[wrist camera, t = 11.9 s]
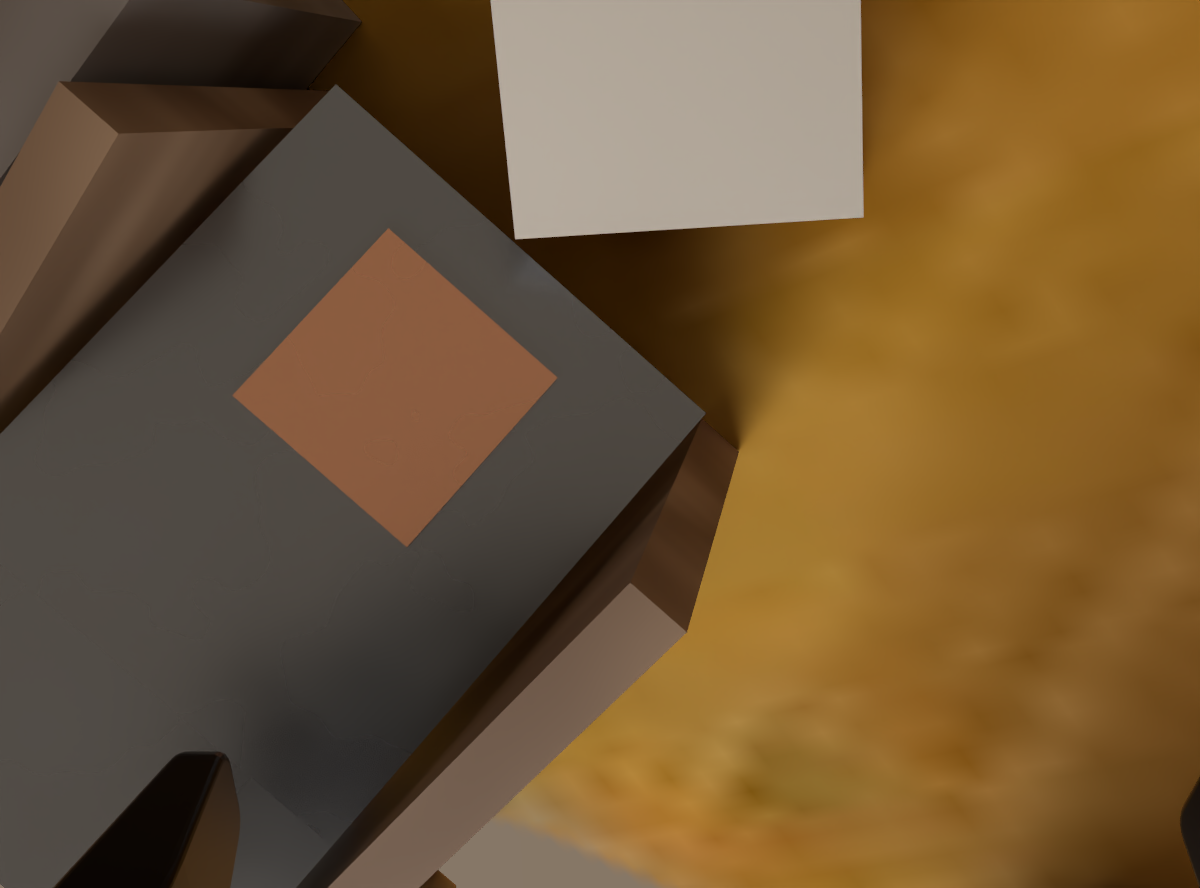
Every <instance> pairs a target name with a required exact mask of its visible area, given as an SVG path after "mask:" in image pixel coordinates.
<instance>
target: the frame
mask: <svg viewBox="0 0 1200 888" xmlns="http://www.w3.org/2000/svg"><path fill="white" fill-rule="evenodd" d="M328 92H329V91H321V90H293V89H265V88H236V87H208V86H180V85H152V84H123V83H95V82H67V81H59V82H58V83H57V85H56V87H55V89H54V91H53V93H52V94H51V96H50V98H49V100H48V102H47V103H46V105H45V107H44V109H43V111H42V112H41V114H40V116H39V118H38V120H37V121H36V123H35V125H34V127H33V129H32V130H31V132H30V134H29V136H28V138H27V139H26V141H25V143H24V145H23V147H22V148H21V150H20V152H19V154H18V156H17V157H16V159H15V161H14V163H13V165H12V166H11V168H10V170H9V172H8V174H7V175H6V177H5V179H4V181H3V183H2V185H1V186H0V434H1V433H2V432H3V431H4V430H5V429H6V428H7V426H8V425H9V424H10V423H11V422H12V421H13V420H14V419H15V418H16V417H17V416H18V415H19V414H20V413H21V412H22V411H23V410H24V409H25V408H26V407H27V406H28V405H29V404H30V403H31V401H32V400H33V399H34V398H35V397H36V396H37V395H38V394H39V393H40V392H41V391H42V390H43V389H44V388H45V387H46V386H47V385H48V384H49V383H50V382H51V381H52V380H53V379H54V377H55V376H56V375H57V374H58V373H59V372H60V371H61V370H62V369H63V368H64V367H65V366H66V365H67V364H68V363H69V362H70V361H71V360H72V359H73V358H74V357H75V356H76V355H77V354H78V352H79V351H80V350H81V349H82V348H83V347H84V346H85V345H86V344H87V343H88V342H89V341H90V340H91V339H92V338H93V337H94V336H95V335H96V334H97V333H98V332H99V331H100V330H101V328H102V327H103V326H104V325H105V324H106V323H107V322H108V321H109V320H110V319H111V318H112V317H113V316H114V315H115V314H116V313H117V312H118V311H119V310H120V309H121V308H122V307H123V306H124V305H125V303H126V302H127V301H128V300H129V299H130V298H131V297H132V296H133V295H134V294H135V293H136V292H137V291H138V290H139V289H140V288H141V287H142V286H143V285H144V284H145V283H146V282H147V281H148V279H149V278H150V277H151V276H152V275H153V274H154V273H155V272H156V271H157V270H158V269H159V268H160V267H161V266H162V265H163V264H164V263H165V262H166V261H167V260H168V259H169V258H170V257H171V256H172V254H173V253H174V252H175V251H176V250H177V249H178V248H179V247H180V246H181V245H182V244H183V243H184V242H185V241H186V240H187V239H188V238H189V237H190V236H191V235H192V234H193V233H194V232H195V231H196V229H197V228H198V227H199V226H200V225H201V224H202V223H203V222H204V221H205V220H206V219H207V218H208V217H209V216H210V215H211V214H212V213H213V212H214V211H215V210H216V209H217V208H218V207H219V205H220V204H221V203H222V202H223V201H224V200H225V199H226V198H227V197H228V196H229V195H230V194H231V193H232V192H233V191H234V190H235V189H236V188H237V187H238V186H239V185H240V184H241V183H242V182H243V180H244V179H245V178H246V177H247V176H248V175H249V174H250V173H251V172H252V171H253V170H254V169H255V168H256V167H257V166H258V165H259V164H260V163H261V162H262V161H263V160H264V159H265V158H266V156H267V155H268V154H269V153H270V152H271V151H272V150H273V149H274V148H275V147H276V146H277V145H278V144H279V143H280V142H281V141H282V140H283V139H284V138H285V137H286V136H287V135H288V134H289V133H290V131H291V130H292V129H293V128H294V127H295V126H296V125H297V124H298V123H299V122H300V121H301V120H302V119H303V118H304V117H305V116H306V115H307V114H308V113H309V112H310V111H311V110H312V109H313V107H314V106H315V105H316V104H317V103H318V102H319V101H320V100H321V99H322V98H323V97H324V96H325V95H326V94H327V93H328ZM738 453H739V451H738V450H736V449H735V448H734V447H733V446H732V445H731V444H730V443H729V442H727V441H726V440H725V439H724V438H723V437H722V436H721V435H720V434H718V433H717V432H716V431H715V430H714V429H713V428H712V427H711V426H709V425H708V424H707V423H706V422H705V421H704V420H703V419H701V420H700V421H699V423H698V424H697V425H696V426H695V427H694V428H693V429H692V430H691V431H690V432H689V433H688V435H687V436H686V437H685V438H684V439H683V440H682V442H681V443H680V444H679V445H678V446H677V447H676V449H675V450H674V451H673V452H672V453H671V454H670V455H669V457H668V458H667V459H666V460H665V461H664V462H663V464H662V465H661V466H660V467H659V468H658V469H657V471H656V472H655V473H654V474H653V475H652V476H651V477H650V479H649V480H648V481H647V482H646V483H645V484H644V486H643V487H642V488H641V489H640V490H639V491H638V493H637V494H636V495H635V496H634V497H633V498H632V499H631V501H630V502H629V503H628V504H627V505H626V506H625V508H624V509H623V510H622V511H621V512H620V513H619V515H618V516H617V517H616V518H615V519H614V520H613V521H612V523H611V524H610V525H609V526H608V527H607V528H606V530H605V531H604V532H603V533H602V534H601V535H600V537H599V538H598V539H597V540H596V541H595V542H594V543H593V545H592V546H591V547H590V548H589V549H588V550H587V552H586V553H585V554H584V555H583V556H582V557H581V558H580V560H579V561H578V562H577V563H576V564H575V565H574V567H573V568H572V569H571V570H570V571H569V572H568V574H567V575H566V576H565V577H564V578H563V579H562V580H561V582H560V583H559V584H558V585H557V586H556V587H555V589H554V590H553V591H552V592H551V593H550V594H549V596H548V597H547V598H546V599H545V600H544V601H543V602H542V604H541V605H540V606H539V607H538V608H537V609H536V611H535V612H534V613H533V614H532V615H531V616H530V618H529V619H528V620H527V621H526V622H525V623H524V624H523V626H522V627H521V628H520V629H519V630H518V631H517V633H516V634H515V635H514V636H513V637H512V638H511V640H510V641H509V642H508V643H507V644H506V645H505V646H504V648H503V649H502V650H501V651H500V652H499V653H498V655H497V656H496V657H495V658H494V659H493V660H492V662H491V663H490V664H489V665H488V666H487V667H486V668H485V670H484V671H483V672H482V673H481V674H480V675H479V677H478V678H477V679H476V680H475V681H474V682H473V683H472V685H471V686H470V687H469V688H468V689H467V690H466V692H465V693H464V694H463V695H462V696H461V697H460V699H459V700H458V701H457V702H456V703H455V704H454V705H453V707H452V708H451V709H450V710H449V711H448V712H447V714H446V715H445V716H444V717H443V718H442V719H441V721H440V722H439V723H438V724H437V725H436V726H435V727H434V729H433V730H432V731H431V732H430V733H429V734H428V736H427V737H426V738H425V739H424V740H423V741H422V743H421V744H420V745H419V746H418V747H417V748H416V749H415V751H414V752H413V753H412V754H411V755H410V756H409V758H408V759H407V760H406V761H405V762H404V763H403V765H402V766H401V767H400V768H399V769H398V770H397V771H396V773H395V774H394V775H393V776H392V777H391V778H390V780H389V781H388V782H387V783H386V784H385V785H384V787H383V788H382V789H381V790H380V791H379V792H378V793H377V795H376V796H375V797H374V798H373V799H372V800H371V802H370V803H369V804H368V805H367V806H366V807H365V808H364V810H363V811H362V812H361V813H360V814H359V815H358V817H357V818H356V819H355V820H354V821H353V822H352V824H351V825H350V826H349V827H348V828H347V829H346V830H345V832H344V833H343V834H342V835H341V836H340V837H339V839H338V840H337V841H336V842H335V843H334V844H333V846H332V847H331V848H330V849H329V850H328V851H327V852H326V854H325V855H324V856H323V857H322V858H321V859H320V861H319V862H318V863H317V864H316V865H315V866H314V868H313V869H312V870H311V871H310V872H309V873H308V874H307V876H306V877H305V878H304V879H303V880H302V881H301V883H300V884H299V885H298V886H297V887H296V888H456V885H455V884H454V883H453V882H452V881H450V880H449V879H448V878H447V877H446V876H444V875H443V874H442V873H441V872H440V871H439V870H438V869H439V868H440V867H441V866H442V865H443V864H444V863H446V861H448V860H449V859H450V858H451V857H452V856H453V855H454V854H455V853H456V852H457V851H458V850H459V849H460V848H461V847H462V846H463V845H464V844H465V843H466V842H468V841H469V840H470V838H472V837H473V836H474V835H475V834H476V833H477V832H478V831H479V830H480V829H481V828H482V827H483V826H484V825H485V824H486V823H487V822H488V821H490V820H491V819H492V818H493V817H494V816H495V815H496V814H497V813H498V812H499V811H500V810H501V809H502V808H503V807H504V806H505V805H506V804H507V803H508V802H509V801H510V800H512V799H513V798H514V797H515V796H516V795H517V794H518V793H519V792H520V791H521V790H522V789H523V788H524V787H525V786H526V785H527V784H528V783H529V782H530V781H531V780H532V779H534V778H535V777H536V776H537V775H538V774H539V773H540V772H541V771H542V770H543V769H544V768H545V767H546V766H547V765H548V764H549V763H550V762H551V761H552V760H553V759H554V758H556V757H557V756H558V755H559V754H560V753H561V752H562V751H563V750H564V749H565V748H566V747H567V746H568V745H569V744H570V743H571V742H572V741H573V740H574V739H575V738H576V737H578V736H579V735H580V734H581V733H582V732H583V731H584V730H585V729H586V728H587V727H588V726H589V725H590V724H591V723H592V722H593V721H594V720H595V719H596V718H597V717H598V716H600V715H601V714H602V713H603V712H604V711H605V710H606V709H607V708H608V707H609V706H610V705H611V704H612V703H613V702H614V701H615V700H616V699H617V698H618V697H619V696H620V695H622V694H623V693H624V692H625V691H626V690H627V689H628V688H629V687H630V686H631V685H632V684H633V683H634V682H635V681H636V680H637V679H638V678H639V677H640V676H641V675H642V674H644V673H645V672H646V671H647V670H648V669H649V668H650V667H651V666H652V665H653V664H654V663H655V662H656V661H657V660H658V659H659V658H660V657H661V656H662V655H663V654H664V653H666V652H667V651H668V650H669V649H670V648H671V647H672V646H673V645H674V644H675V643H676V642H677V641H678V640H679V639H680V638H681V637H682V636H683V635H684V634H685V633H686V632H687V630H688V626H689V623H690V619H691V616H692V612H693V609H694V605H695V602H696V598H697V595H698V592H699V588H700V585H701V581H702V578H703V574H704V571H705V567H706V564H707V560H708V557H709V553H710V550H711V546H712V543H713V540H714V536H715V533H716V529H717V526H718V522H719V519H720V515H721V512H722V508H723V505H724V501H725V498H726V494H727V491H728V488H729V484H730V481H731V477H732V474H733V470H734V467H735V463H736V460H737V456H738Z"/></svg>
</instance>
